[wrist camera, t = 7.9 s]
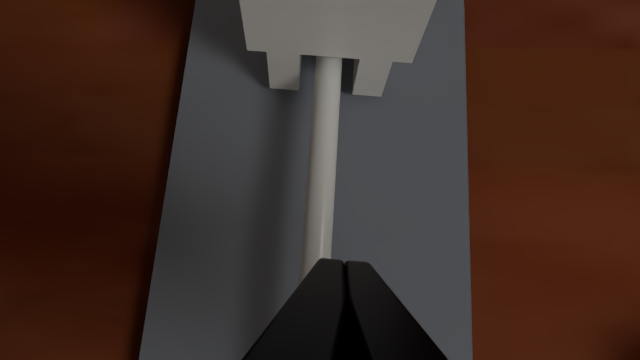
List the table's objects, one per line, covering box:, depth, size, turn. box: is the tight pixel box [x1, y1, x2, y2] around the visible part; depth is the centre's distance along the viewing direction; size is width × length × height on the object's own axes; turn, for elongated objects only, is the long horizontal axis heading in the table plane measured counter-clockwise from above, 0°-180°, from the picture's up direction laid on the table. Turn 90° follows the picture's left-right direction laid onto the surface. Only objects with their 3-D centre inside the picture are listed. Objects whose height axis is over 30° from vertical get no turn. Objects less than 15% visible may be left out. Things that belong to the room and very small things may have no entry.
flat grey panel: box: [139, 0, 472, 360], centre depth 20 cm, size 26×12×5 cm, turn 176°
